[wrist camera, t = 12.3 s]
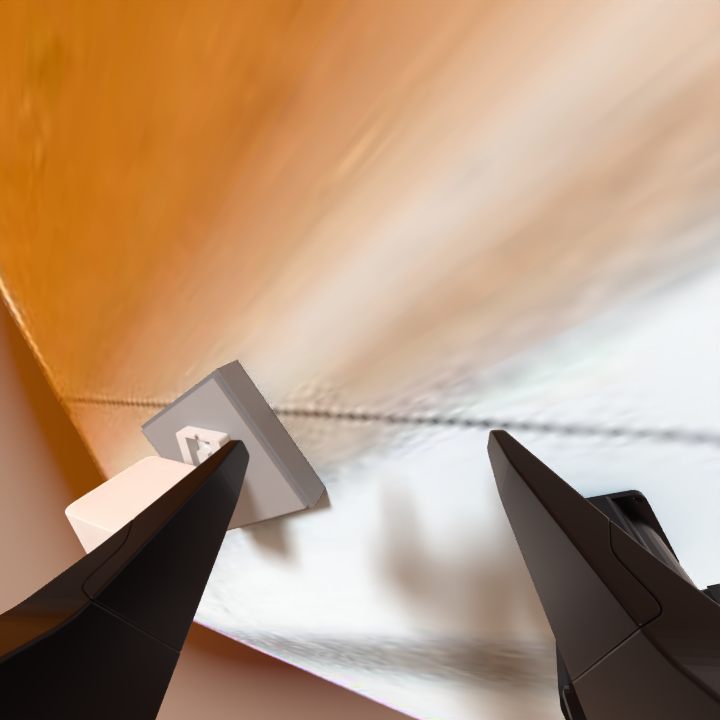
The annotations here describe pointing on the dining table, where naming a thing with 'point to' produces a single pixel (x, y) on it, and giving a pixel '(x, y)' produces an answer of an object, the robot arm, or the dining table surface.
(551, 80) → the dining table surface
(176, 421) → the grey square slab
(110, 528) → the security camera
